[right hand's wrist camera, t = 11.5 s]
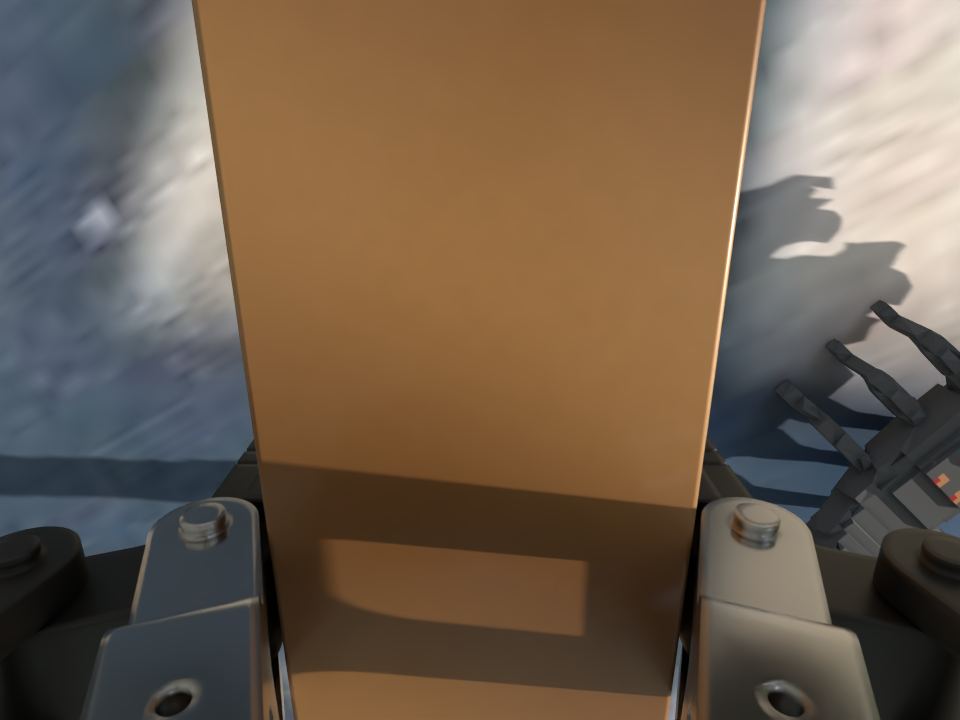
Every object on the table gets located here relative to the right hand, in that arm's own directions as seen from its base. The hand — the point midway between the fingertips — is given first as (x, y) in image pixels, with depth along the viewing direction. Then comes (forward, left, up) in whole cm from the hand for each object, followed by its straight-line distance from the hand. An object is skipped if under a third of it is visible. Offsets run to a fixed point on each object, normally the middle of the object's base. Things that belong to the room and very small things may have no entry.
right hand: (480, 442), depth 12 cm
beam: (+16, -27, -3) cm, 31 cm away
